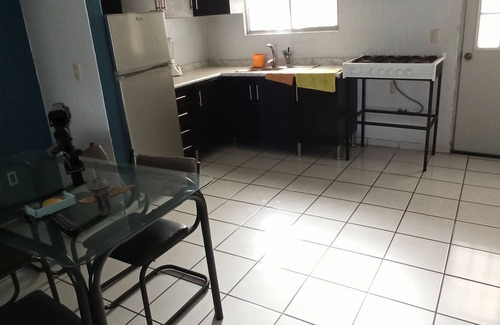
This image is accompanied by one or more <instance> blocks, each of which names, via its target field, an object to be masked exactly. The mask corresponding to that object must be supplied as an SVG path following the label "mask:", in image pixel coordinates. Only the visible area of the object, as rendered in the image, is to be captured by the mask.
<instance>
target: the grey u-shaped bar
mask: <svg viewBox="0 0 500 325" xmlns="http://www.w3.org/2000/svg"><path fill="white" fill-rule="evenodd" d="M62 194H63V197H64V199H61V201H59V202H56V203H54V204H51V205H49V206H46V207H44V208H39V209H36V210H35V209H33V208H31V207H30V206H29V205H28V204H26V205H24V207H25V211H26V215H28V214H30V215H32V216H34V217H35V218H39V217H41V218H43V217H42V216H44V215H46V216H48V215H47V214H49V215H51V214H54V213H56V212H58V211H60V210H64V209H65V208H68V207H71V206H73V205H75V204H77V203H78V202H77V199H76V196H75V195H74V194H72V193H68V192H67V191H66V190H64V191H62ZM30 215H29V216H30ZM32 216H31V217H32ZM44 217H45V216H44ZM35 218H34V219H35ZM39 219H40V218H39Z"/></svg>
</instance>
